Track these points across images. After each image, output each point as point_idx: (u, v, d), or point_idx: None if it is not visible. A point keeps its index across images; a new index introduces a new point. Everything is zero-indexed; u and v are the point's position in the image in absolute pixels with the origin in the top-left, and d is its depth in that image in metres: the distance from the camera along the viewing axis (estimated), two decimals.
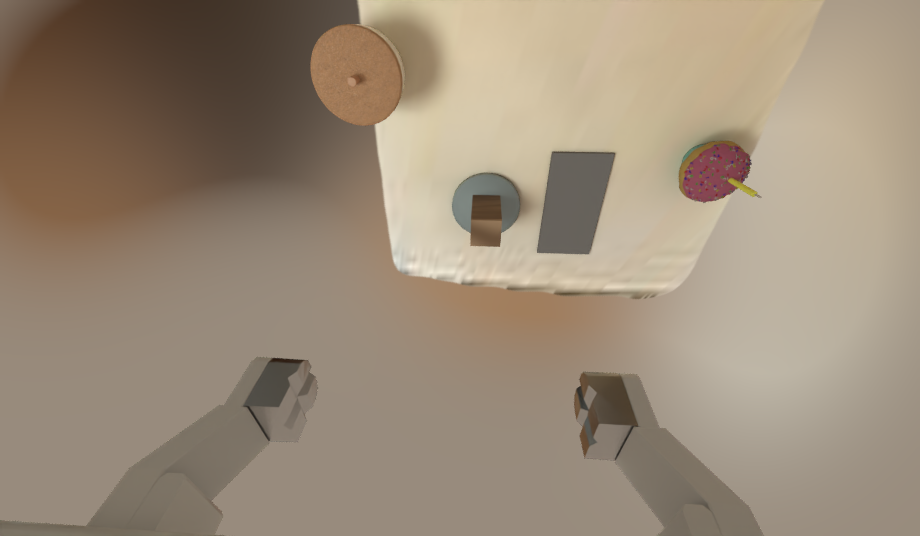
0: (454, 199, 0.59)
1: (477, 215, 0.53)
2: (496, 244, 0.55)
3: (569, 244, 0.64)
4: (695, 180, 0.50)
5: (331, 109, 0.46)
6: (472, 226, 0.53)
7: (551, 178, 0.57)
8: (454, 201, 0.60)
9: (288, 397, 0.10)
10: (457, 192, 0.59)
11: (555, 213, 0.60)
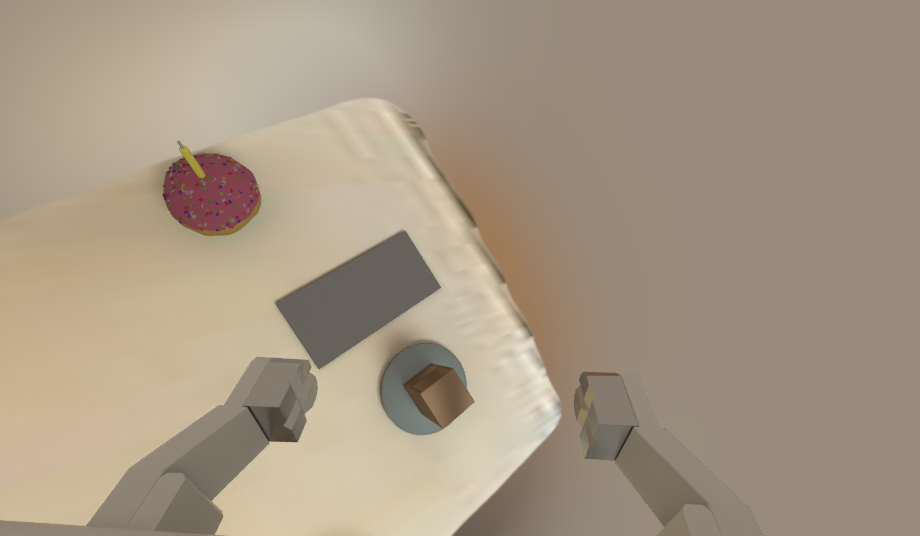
0: (439, 428, 0.46)
1: (434, 419, 0.40)
2: (453, 374, 0.40)
3: (408, 260, 0.49)
4: (230, 210, 0.37)
5: None
6: (449, 420, 0.39)
7: (347, 346, 0.44)
8: None
9: (288, 397, 0.10)
10: (429, 432, 0.46)
11: (383, 307, 0.47)
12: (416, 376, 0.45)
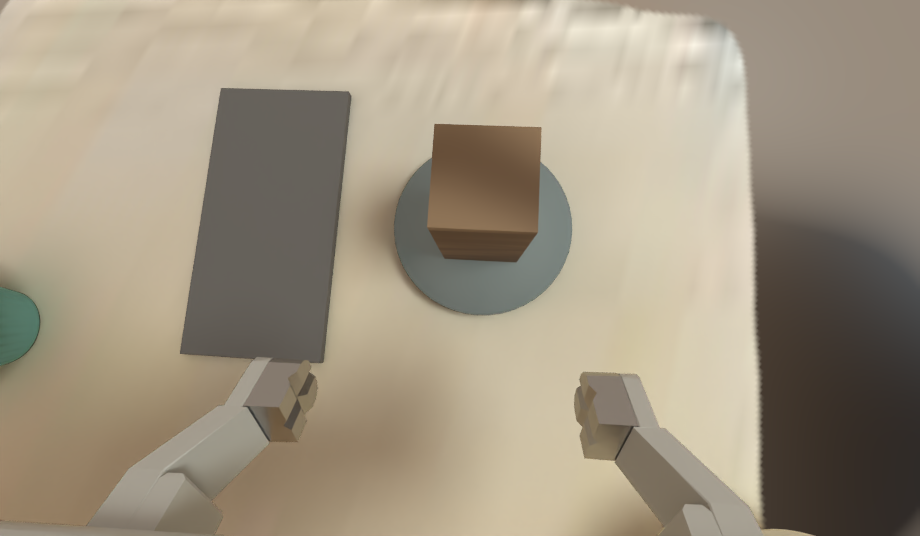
0: (565, 250, 0.22)
1: (511, 238, 0.16)
2: (448, 133, 0.15)
3: (268, 114, 0.25)
4: None
5: None
6: (532, 206, 0.15)
7: (319, 298, 0.23)
8: (565, 244, 0.22)
9: (288, 397, 0.10)
10: (556, 270, 0.22)
11: (307, 203, 0.24)
12: None
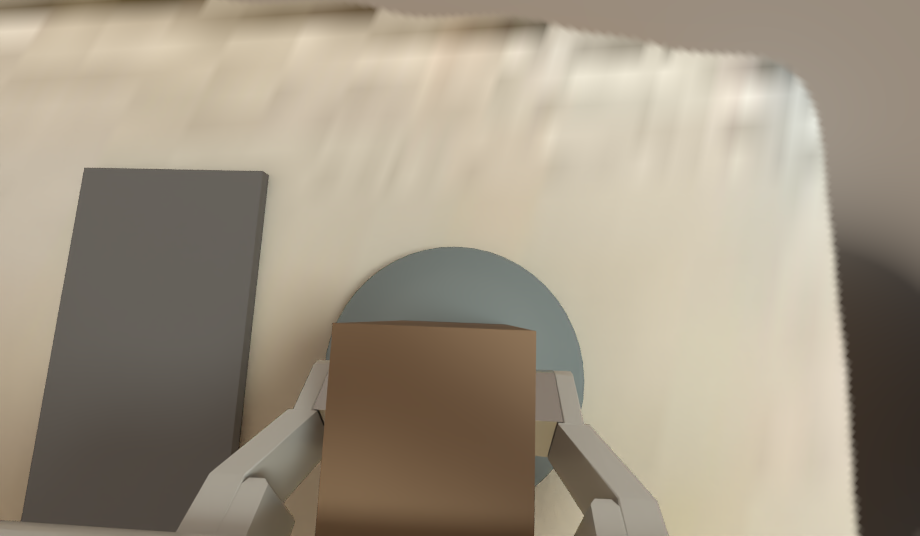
0: None
1: None
2: (357, 341, 0.08)
3: (150, 205, 0.18)
4: None
5: None
6: (522, 500, 0.07)
7: None
8: None
9: None
10: None
11: (202, 337, 0.17)
12: None
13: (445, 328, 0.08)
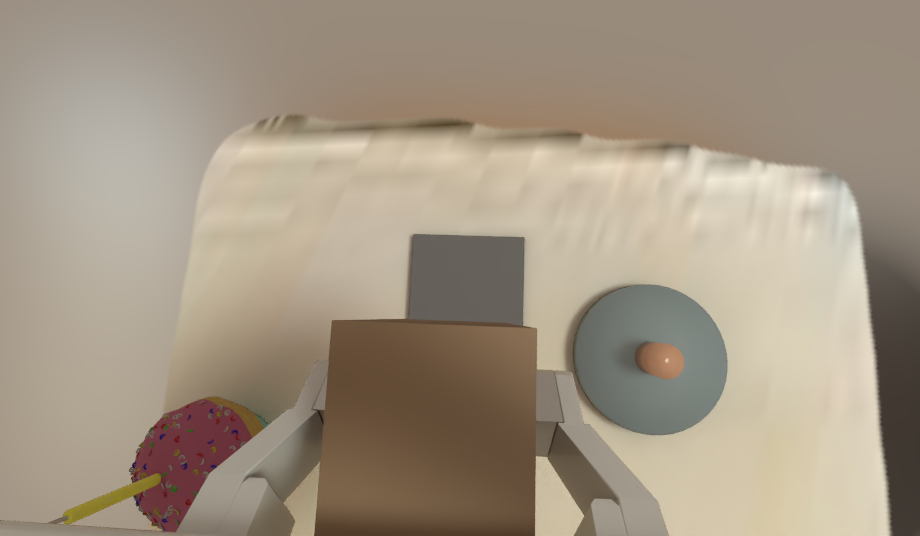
0: (722, 379, 0.27)
1: None
2: (357, 339, 0.08)
3: (457, 257, 0.30)
4: None
5: None
6: (523, 499, 0.07)
7: None
8: (722, 374, 0.27)
9: None
10: (716, 396, 0.27)
11: None
12: None
13: (445, 325, 0.08)
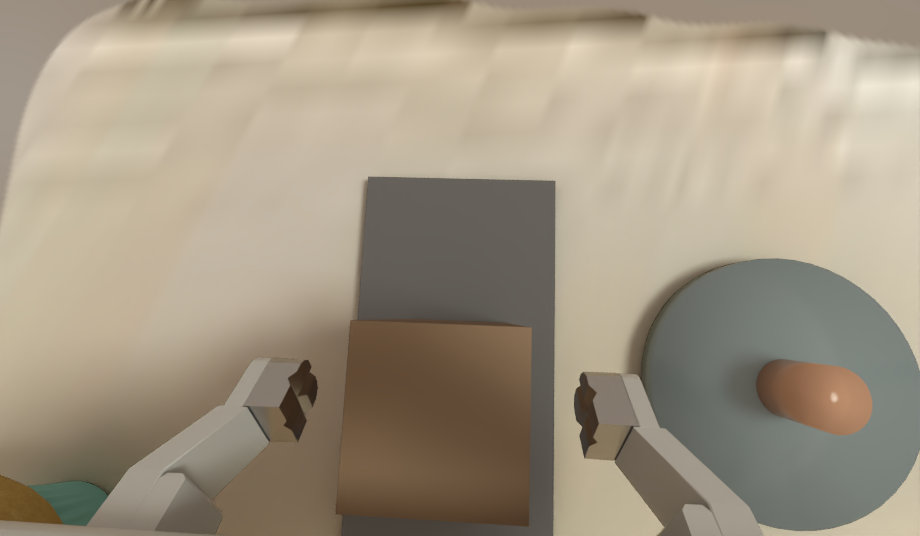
0: (918, 427, 0.15)
1: None
2: (373, 336, 0.09)
3: (441, 215, 0.18)
4: None
5: None
6: (519, 477, 0.08)
7: (542, 497, 0.16)
8: (916, 417, 0.15)
9: (288, 397, 0.10)
10: (908, 458, 0.15)
11: None
12: None
13: (451, 325, 0.09)
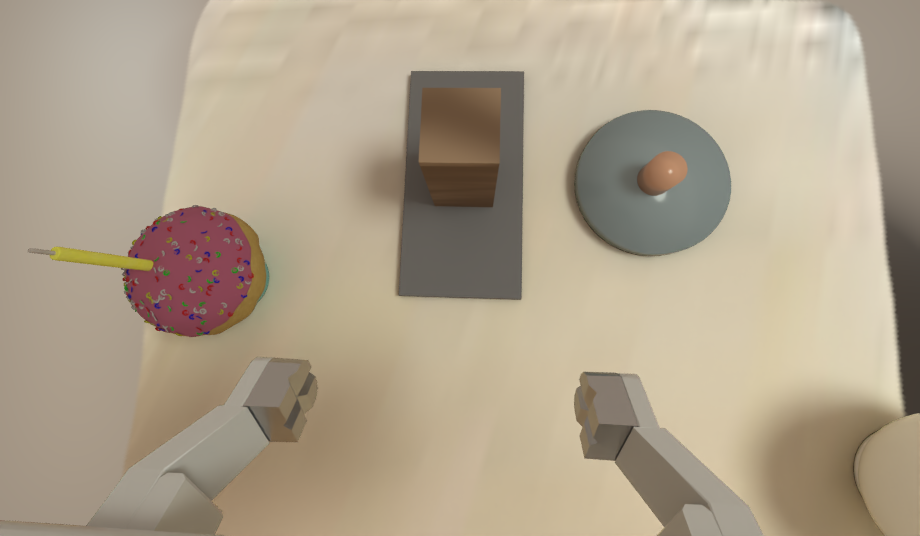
0: (726, 198, 0.27)
1: (482, 173, 0.21)
2: (432, 93, 0.21)
3: None
4: (222, 261, 0.22)
5: None
6: (495, 145, 0.20)
7: (516, 245, 0.27)
8: (726, 193, 0.27)
9: (288, 397, 0.10)
10: (720, 214, 0.27)
11: None
12: None
13: (466, 88, 0.21)
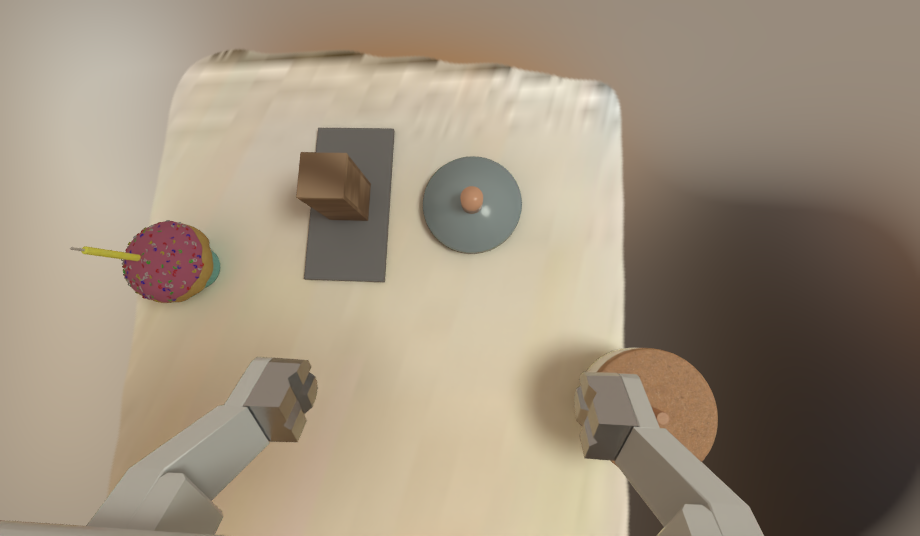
0: (517, 216, 0.41)
1: (338, 202, 0.35)
2: (306, 156, 0.35)
3: (347, 142, 0.43)
4: (182, 255, 0.36)
5: (696, 374, 0.31)
6: (341, 187, 0.34)
7: (382, 246, 0.41)
8: (518, 212, 0.41)
9: (288, 397, 0.10)
10: (513, 226, 0.41)
11: (372, 193, 0.42)
12: None
13: None
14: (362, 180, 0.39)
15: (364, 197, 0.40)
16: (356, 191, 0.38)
